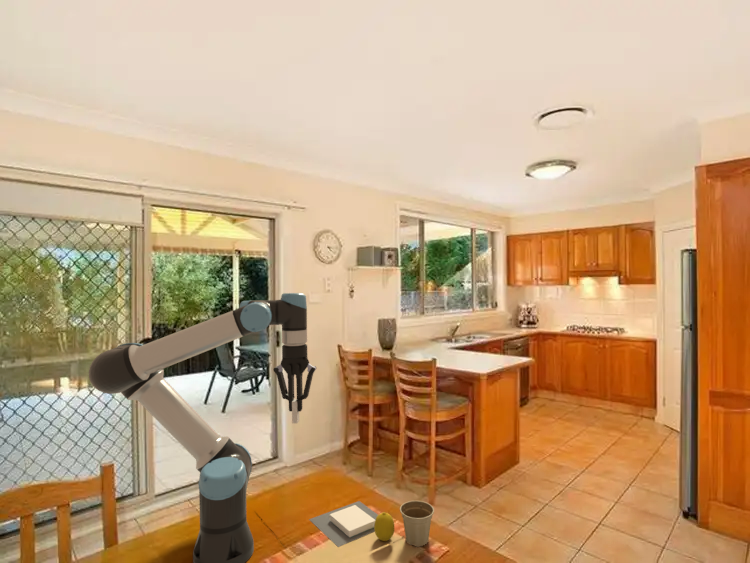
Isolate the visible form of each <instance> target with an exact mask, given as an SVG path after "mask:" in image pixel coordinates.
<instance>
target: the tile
mask: <svg viewBox="0 0 750 563" xmlns="http://www.w3.org/2000/svg"><path fill="white" fill-rule="evenodd" d="M330 521H331V522H332V523H333V524H334V525H336V526H337V527H338V528H339V529H340V530H341V531H342V532H344V533H345V534H346V535H347V536H348V537H349V538H351V537H353V536H355V535H358V534H360V533H363V532H365V531H367V530H370V529H372V528H374V525H375V519H373V518H372V517H371V516H369V515H368V514H367V513H365V512H364V511H363V510H361V509H360V508H359V507H357V506H356V505H353V506H351V507H348V508H345V509H343V510H340V511H337V512H334V513H332V514H330Z"/></svg>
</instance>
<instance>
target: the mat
mask: <svg viewBox="0 0 750 563" xmlns="http://www.w3.org/2000/svg"><path fill="white" fill-rule="evenodd" d="M353 505H356V506H357V507H359V508H360V509H361V510H363V511H364V512H365V513H367V514H368V515H369V516H371V517H372V518H373V519H375V520H376V517H377V516H378V515H379V514H378V513H377V512H375V511H374V510H372V509H371V508H370V507H368V506H367V505H366V504H364V503H363V502H362V501H360V500H358V501H356V502H353V503H350V504H347V505H345V506H341V507H339V508H336V509H333V510H330V511H327V512H325V513H322V514H320V515H317V516H315V517H312V518H309V519H308V521H310V522H311V523H312V524H313V525H314V526H315V527H317V529H319V531H321V532H322V533H323V534H324V535H325V536H326V537H327V538H328V539H329V540H330V541H331V542H332V543H333V544H334V545H335V546H336V547H337V548H340V547H342V546H344V545H346V544H349V543H351V542H353V541H356V540H358V539H361V538H363V537H365V536H368V535H370V534H372V533H375V529H374V528H372V529H370V530H367V531H365V532H363V533H360V534H358V535H355V536H353V537H351V538H349V537H348V536H347V535H346V534H345V533H344V532H342V531H341V530H340V529H339V528H338V527H337V526H336V525H334V524H333V523H332V522H331V521H330V514H332V513H334V512H337V511H340V510H343V509H345V508H348V507H351V506H353Z"/></svg>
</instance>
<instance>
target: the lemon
mask: <svg viewBox="0 0 750 563" xmlns="http://www.w3.org/2000/svg"><path fill="white" fill-rule="evenodd" d="M374 529H375V532H374V533H375V536H376V537H377V539H379V540H380V541H383V542H387V541H389V540H390V539H392V538H393V535H394V533H395V521H394V519H393V516H392V515H391V514H389V513H388V512H385V511H383V512H381V513H380V514H378V516H377V517H376V520H375V525H374Z"/></svg>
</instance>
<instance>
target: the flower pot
mask: <svg viewBox="0 0 750 563" xmlns="http://www.w3.org/2000/svg"><path fill="white" fill-rule="evenodd" d="M399 512H400V514H401V517H402V521H403V526H404V527H403V529H404V534H405V541H406V543H407V544H408V545H410V546H412V545H413V546H415V547H423V545H424V546H426V545H427V544H428V542H429V538H430V529H431V522H432V519H433V515H434V514H435V508H434V506H432V504H430V503H429V502H427V501H423V500H409V501H406V502H404V503H402V504H401V505H400V507H399ZM425 544H426V545H425Z"/></svg>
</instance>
